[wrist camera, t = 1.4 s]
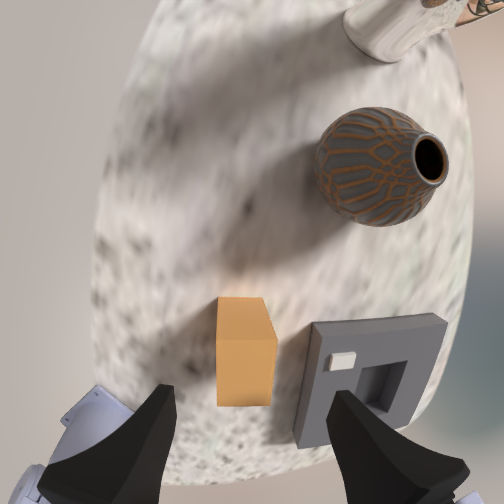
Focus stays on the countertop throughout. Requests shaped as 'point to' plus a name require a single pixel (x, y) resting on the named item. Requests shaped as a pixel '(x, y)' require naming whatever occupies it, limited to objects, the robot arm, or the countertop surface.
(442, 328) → the socket
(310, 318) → the countertop surface
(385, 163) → the vase
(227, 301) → the plug
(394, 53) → the metal tumbler
